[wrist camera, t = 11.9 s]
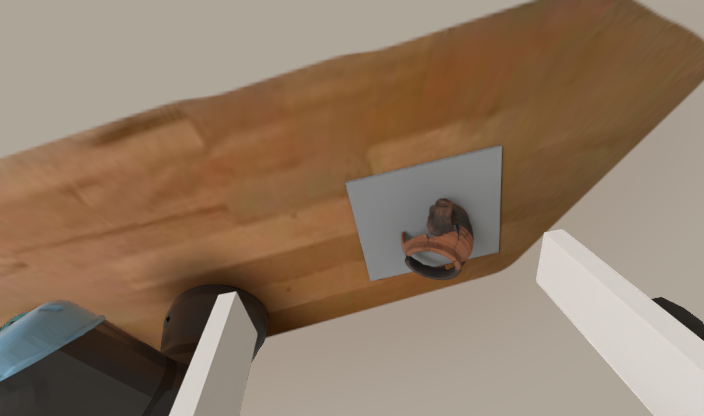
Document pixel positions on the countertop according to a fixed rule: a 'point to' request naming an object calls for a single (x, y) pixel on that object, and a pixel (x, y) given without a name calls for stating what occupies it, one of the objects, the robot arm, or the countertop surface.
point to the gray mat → (426, 207)
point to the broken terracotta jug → (442, 240)
